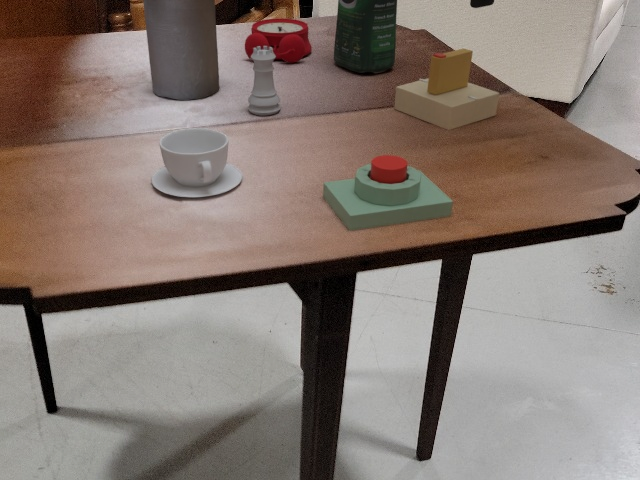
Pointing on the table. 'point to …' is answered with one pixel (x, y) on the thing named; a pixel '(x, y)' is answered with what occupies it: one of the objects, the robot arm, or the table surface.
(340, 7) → the coffee jar
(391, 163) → the button
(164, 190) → the teacup
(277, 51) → the alarm clock
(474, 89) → the plate
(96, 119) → the table surface
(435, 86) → the handle
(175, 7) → the pillar candle
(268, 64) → the rook chess piece
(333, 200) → the button block
